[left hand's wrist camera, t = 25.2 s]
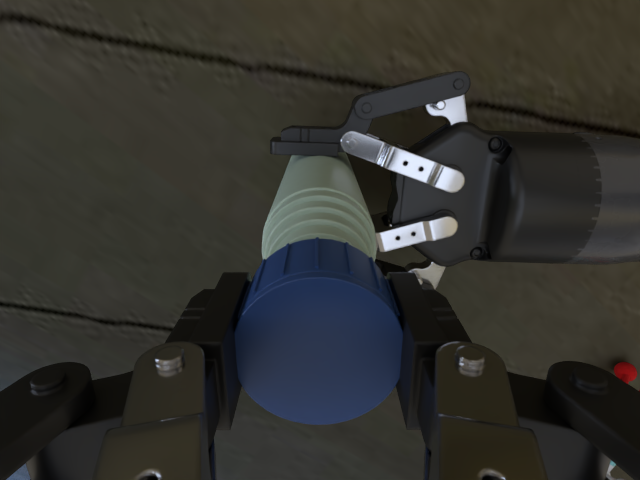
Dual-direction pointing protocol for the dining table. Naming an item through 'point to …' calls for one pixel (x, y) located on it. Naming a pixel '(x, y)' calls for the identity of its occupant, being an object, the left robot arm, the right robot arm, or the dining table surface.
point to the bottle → (319, 206)
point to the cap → (318, 333)
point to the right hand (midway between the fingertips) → (273, 190)
